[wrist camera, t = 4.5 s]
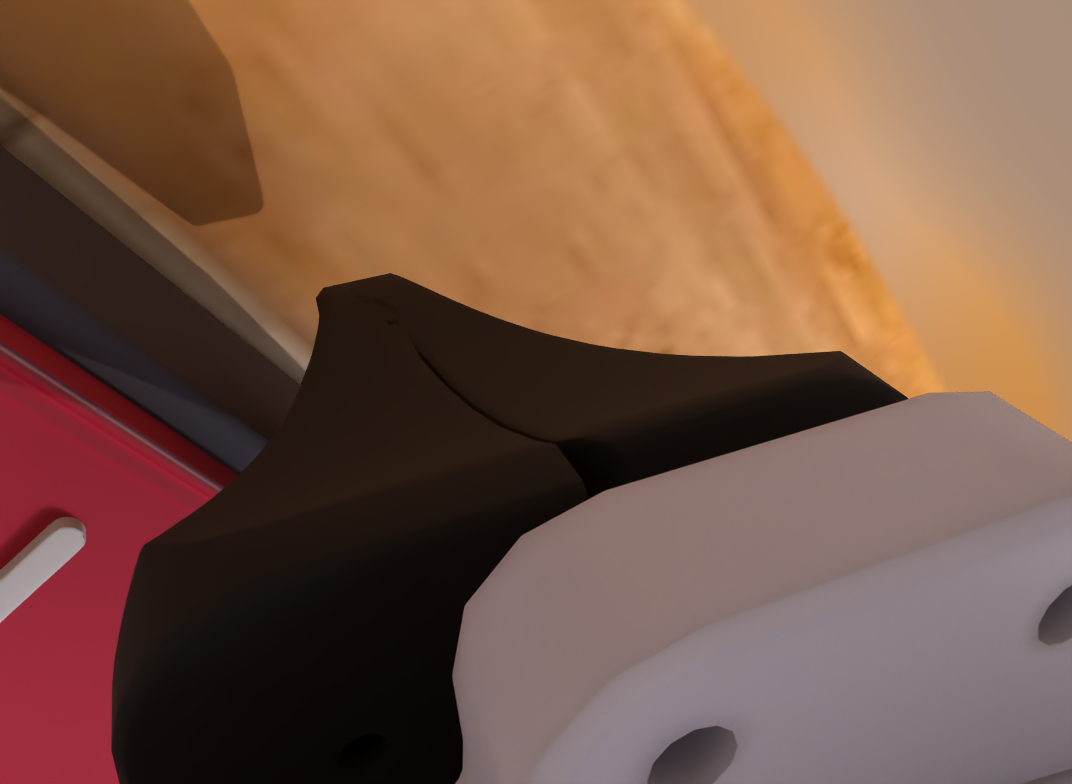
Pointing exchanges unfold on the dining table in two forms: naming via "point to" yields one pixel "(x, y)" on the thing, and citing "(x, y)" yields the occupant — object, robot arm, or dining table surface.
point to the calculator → (97, 460)
